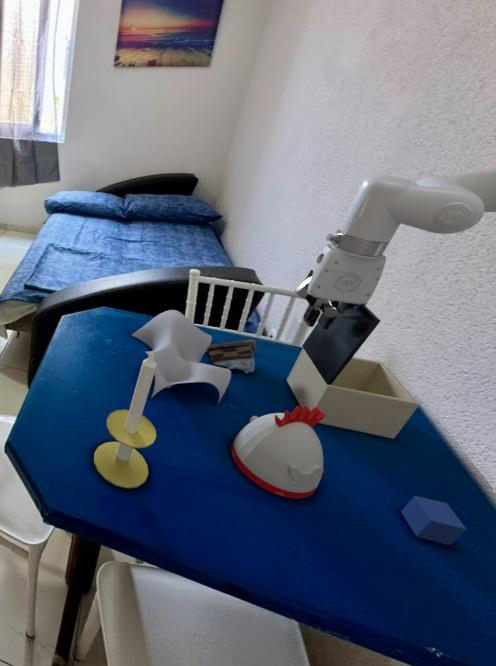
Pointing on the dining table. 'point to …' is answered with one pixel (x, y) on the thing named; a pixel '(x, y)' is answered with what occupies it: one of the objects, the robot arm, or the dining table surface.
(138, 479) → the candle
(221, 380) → the sculpture
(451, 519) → the blue block
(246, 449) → the kitchen timer
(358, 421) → the open box
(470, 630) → the dining table surface
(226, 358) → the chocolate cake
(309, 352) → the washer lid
